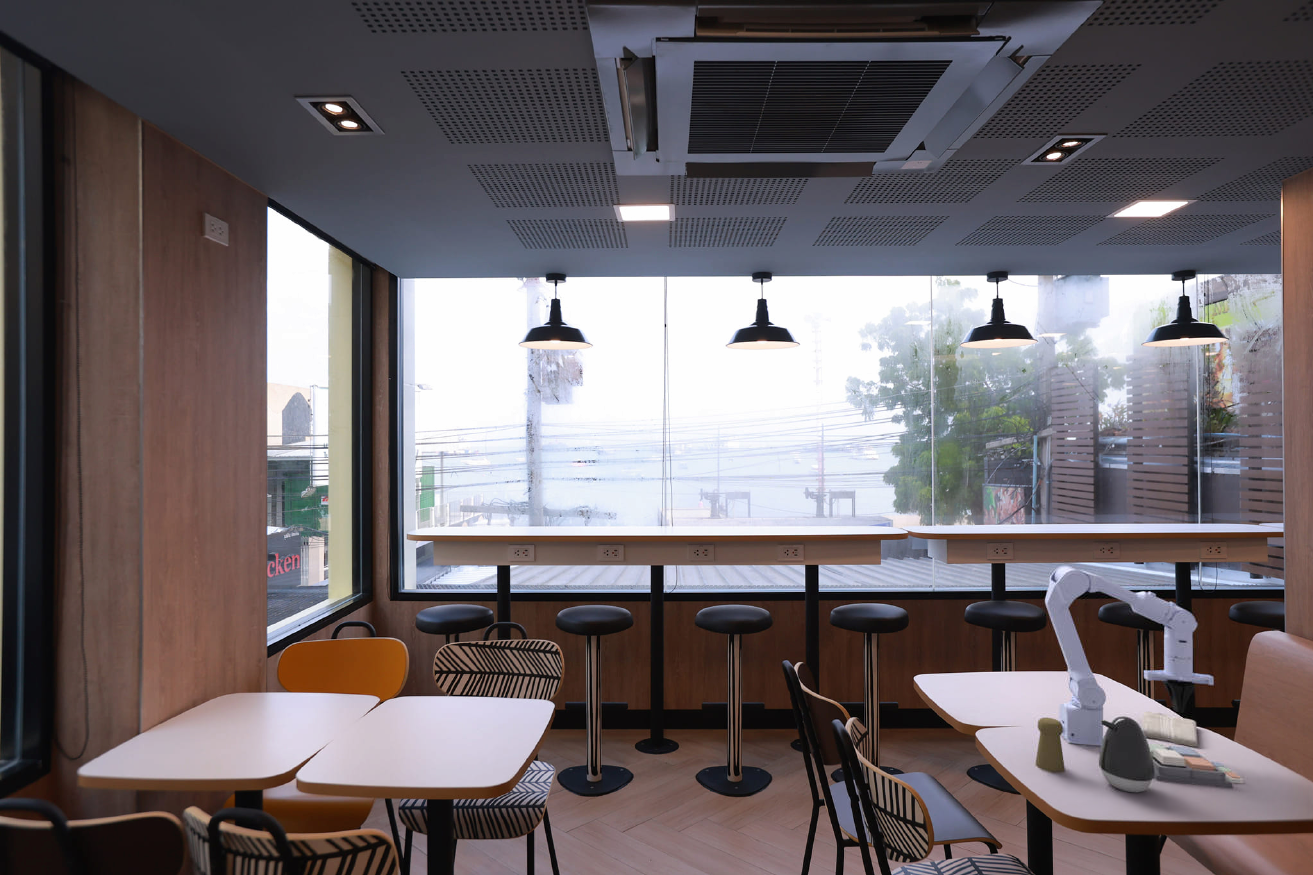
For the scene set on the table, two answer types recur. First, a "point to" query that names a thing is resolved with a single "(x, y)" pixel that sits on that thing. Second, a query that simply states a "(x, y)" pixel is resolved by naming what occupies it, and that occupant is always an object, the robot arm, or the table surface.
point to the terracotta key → (1199, 763)
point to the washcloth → (1170, 729)
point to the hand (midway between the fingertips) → (1178, 710)
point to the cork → (1050, 746)
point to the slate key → (1184, 751)
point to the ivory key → (1169, 757)
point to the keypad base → (1189, 774)
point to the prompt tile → (1228, 773)
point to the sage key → (1155, 747)
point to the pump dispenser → (1126, 756)
